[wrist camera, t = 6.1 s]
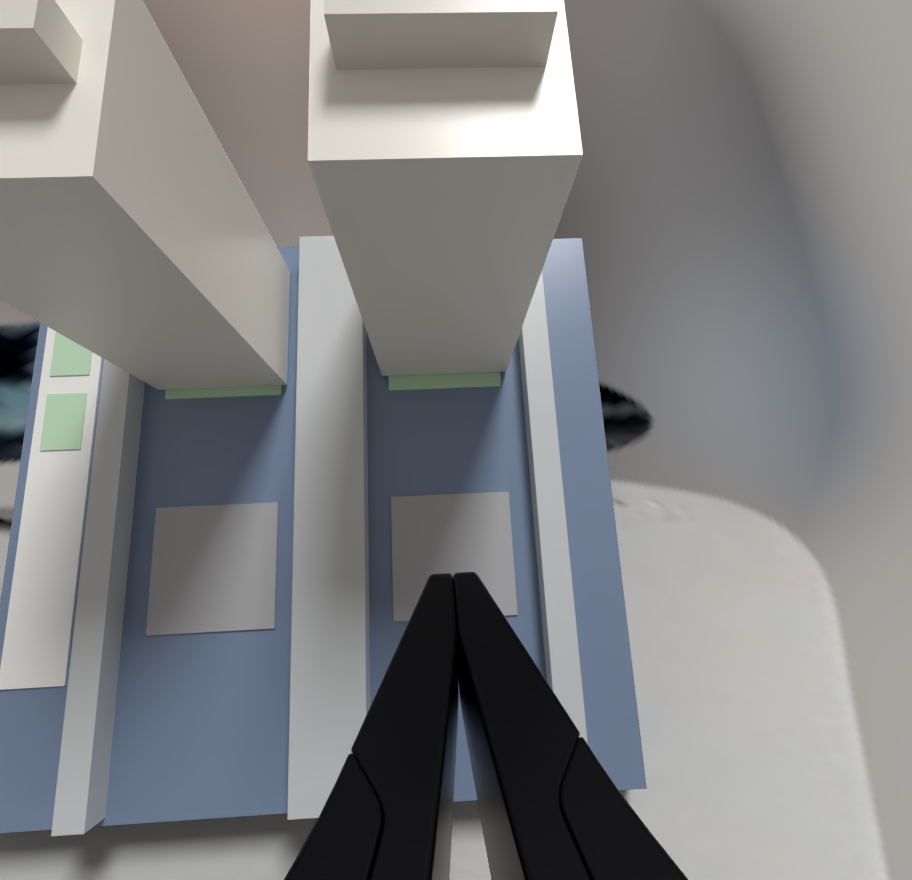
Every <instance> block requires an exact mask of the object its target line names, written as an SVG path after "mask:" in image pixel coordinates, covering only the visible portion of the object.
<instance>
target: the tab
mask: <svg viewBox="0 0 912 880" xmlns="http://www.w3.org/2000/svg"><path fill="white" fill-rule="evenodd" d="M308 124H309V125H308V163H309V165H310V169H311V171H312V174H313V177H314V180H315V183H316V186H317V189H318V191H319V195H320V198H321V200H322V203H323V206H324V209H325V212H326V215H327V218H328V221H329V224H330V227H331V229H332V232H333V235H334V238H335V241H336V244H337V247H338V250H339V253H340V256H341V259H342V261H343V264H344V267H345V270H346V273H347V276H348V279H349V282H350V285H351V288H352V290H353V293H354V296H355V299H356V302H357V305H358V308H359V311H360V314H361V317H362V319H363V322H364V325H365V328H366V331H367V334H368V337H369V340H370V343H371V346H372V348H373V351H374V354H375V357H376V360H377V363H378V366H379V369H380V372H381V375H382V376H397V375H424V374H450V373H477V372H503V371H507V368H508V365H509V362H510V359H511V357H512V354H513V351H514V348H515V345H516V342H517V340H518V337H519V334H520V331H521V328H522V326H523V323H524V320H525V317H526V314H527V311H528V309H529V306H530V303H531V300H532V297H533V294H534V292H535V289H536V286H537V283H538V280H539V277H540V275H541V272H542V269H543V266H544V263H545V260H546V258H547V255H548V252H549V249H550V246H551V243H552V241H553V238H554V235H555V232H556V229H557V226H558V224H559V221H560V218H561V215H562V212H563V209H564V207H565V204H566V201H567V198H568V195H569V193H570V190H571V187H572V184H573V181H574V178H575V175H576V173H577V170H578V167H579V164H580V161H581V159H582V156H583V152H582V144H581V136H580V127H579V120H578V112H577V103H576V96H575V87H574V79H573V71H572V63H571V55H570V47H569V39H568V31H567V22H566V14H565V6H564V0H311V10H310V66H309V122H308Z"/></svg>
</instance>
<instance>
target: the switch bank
mask: <svg viewBox="0 0 912 880" xmlns="http://www.w3.org/2000/svg"><path fill="white" fill-rule="evenodd" d="M277 248H278V250H279V252H280V254H281V256H282V257H283V259H284V261H285V263H286V265H287V267H288V268H289V270H290V292H289V331H288V371H287V385H273V386H247V387H220V388H194V389H168V390H158V389H156V388H154V387H153V386H151V385H149V384H147V383H146V382H144V381H142V380H140V379H139V378H137V377H135V376H133V375H132V374H130V373H128V372H126V371H124V370H123V369H121V368H119V367H117V366H116V365H114V364H112V363H110V362H109V361H107V360H105V359H103V358H102V357H100V356H98V355H96V354H95V353H93V352H91V351H89V350H88V349H86V348H84V347H82V346H81V345H79V344H77V343H75V342H74V341H72V340H70V339H68V338H67V337H65V336H63V335H61V334H60V333H58V332H56V331H54V330H53V329H51V328H49V327H47V326H46V325H44V324H42V323H40V329H39V336H38V343H37V350H36V357H35V364H34V371H33V378H32V385H31V392H30V399H29V406H28V413H27V420H26V427H25V434H24V441H23V448H22V455H21V462H20V469H19V476H18V483H17V490H16V497H15V504H14V511H13V518H12V525H11V532H10V539H9V546H8V553H7V560H6V567H5V574H4V581H3V588H2V595H1V602H0V833H10V832H25V831H39V830H52V832H51V836H63V835H77V834H85V833H86V832H87V831H89V830H90V829H91V828H92V827H97V826H111V825H126V824H140V823H154V822H169V821H183V820H198V819H212V818H227V817H241V816H255V815H270V814H284V813H288V817H287V820H292V819H307V818H319V816H320V814H321V812H322V809H323V807H324V805H325V803H326V801H327V799H328V797H329V795H330V793H331V791H332V789H333V787H334V785H335V783H336V781H337V778H338V776H339V774H340V772H341V770H342V767H343V765H344V763H345V761H346V759H347V756H348V755H349V754H352V752H351V748H352V746H353V744H354V741H355V739H356V737H357V735H358V733H359V730H360V728H361V726H362V724H363V721H364V719H365V717H366V715H367V713H368V710H369V708H370V706H371V704H372V702H373V699H374V697H375V695H376V693H377V690H378V688H379V686H380V684H381V682H382V679H383V677H384V675H385V673H386V670H387V668H388V666H389V664H390V662H391V659H392V657H393V655H394V653H395V650H396V648H397V646H398V644H399V642H400V639H401V637H402V635H403V633H404V631H405V628H406V626H407V624H408V622H409V619H410V617H411V615H412V613H413V611H414V608H415V606H416V604H417V602H418V599H419V597H420V595H421V593H422V591H423V588H424V586H425V584H426V582H427V580H428V578H429V576H430V575H432V574H442V573H450V574H452V576H454V574H455V573H459V572H475V573H476V574H477V575H478V576H479V577H480V579H481V581H482V582H483V584H484V585H485V587H486V588H487V590H488V591H489V593H490V594H491V596H492V598H493V599H494V601H495V602H496V604H497V605H498V607H499V608H500V610H501V611H502V613H503V615H504V616H505V618H506V619H507V621H508V622H509V624H510V625H511V627H512V628H513V630H514V632H515V633H516V635H517V636H518V638H519V639H520V641H521V642H522V644H523V645H524V647H525V649H526V650H527V652H528V653H529V655H530V656H531V658H532V659H533V661H534V662H535V664H536V666H537V667H538V669H539V670H540V672H541V673H542V675H543V676H544V678H545V679H546V681H547V683H548V684H549V686H550V687H551V689H552V690H553V692H554V693H555V695H556V696H557V698H558V700H559V701H560V703H561V704H562V706H563V707H564V709H565V710H566V712H567V713H568V715H569V717H570V718H571V720H572V721H573V723H574V724H575V726H576V727H577V729H578V730H579V732H580V736H579V737H583V738H584V739H585V741H586V742H587V744H588V745H589V747H590V749H591V750H592V752H593V753H594V755H595V756H596V758H597V759H598V761H599V762H600V764H601V765H602V767H603V768H604V770H605V771H606V773H607V774H608V775H609V777H610V778H611V780H612V781H613V783H614V784H615V786H616V787H617V789H618V790H631V789H645V788H646V780H645V771H644V763H643V754H642V746H641V737H640V729H639V720H638V712H637V703H636V695H635V686H634V678H633V669H632V661H631V652H630V644H629V635H628V627H627V618H626V610H625V601H624V593H623V584H622V576H621V567H620V559H619V550H618V542H617V534H616V525H615V517H614V508H613V500H612V491H611V483H610V474H609V466H608V458H607V449H606V440H605V432H604V423H603V415H602V406H601V398H600V389H599V381H598V372H597V364H596V355H595V347H594V338H593V330H592V321H591V313H590V305H589V297H588V288H587V279H586V271H585V262H584V254H583V245H582V238H580V239H579V238H575V239H553V241H552V243H551V246H550V249H549V252H548V255H547V258H546V260H545V263H544V266H543V269H542V272H541V275H540V277H539V280H538V283H537V286H536V289H535V292H534V294H533V297H532V300H531V303H530V306H529V309H528V311H527V314H526V317H525V320H524V323H523V326H522V328H521V331H520V334H519V337H518V340H517V342H516V345H515V348H514V351H513V354H512V357H511V359H510V362H509V365H508V368H507V371H503V372H477V373H450V374H424V375H397V376H382V375H381V372H380V369H379V366H378V363H377V360H376V357H375V354H374V351H373V348H372V346H371V343H370V340H369V337H368V334H367V331H366V328H365V325H364V322H363V319H362V317H361V314H360V311H359V308H358V305H357V302H356V299H355V296H354V293H353V290H352V288H351V285H350V282H349V279H348V276H347V273H346V270H345V267H344V264H343V261H342V259H341V256H340V253H339V250H338V247H337V244H336V241H335V238H334V236H311V237H300V246H292V247H277ZM458 691H459V684H458ZM472 800H477V795H476V789H475V784H474V778H473V772H472V767H471V761H470V755H469V750H468V744H467V739H466V733H465V727H464V722H463V716H462V710H461V703H460V695H459V707H458V728H457V746H456V764H455V782H454V800H453V802H457V801H472Z"/></svg>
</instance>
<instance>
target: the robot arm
mask: <svg viewBox="0 0 912 880" xmlns="http://www.w3.org/2000/svg"><path fill="white" fill-rule="evenodd" d="M458 684H459V691H458ZM459 695H460V703H461V710H462V716H463V722H464V727H465V733H466V739H467V744H468V750H469V755H470V761H471V767H472V772H473V778H474V784H475V789H476V795H477V800H478V806H479V812H480V817H481V823H482V828H483V834H484V840H485V845H486V851H487V857H488V862H489V868H490V873H491V879H492V880H688V879H687V877H686V876H685V875H684V874H683V872H682V871H681V870H680V869H679V867H678V866H677V865H676V864H675V862H674V861H673V860H672V859H671V857H670V856H669V855H668V854H667V852H666V851H665V850H664V849H663V847H662V846H661V845H660V844H659V842H658V841H657V840H656V839H655V837H654V836H653V835H652V834H651V832H650V831H649V830H648V828H647V827H646V826H645V825H644V823H643V822H642V821H641V819H640V818H639V817H638V815H637V814H636V813H635V811H634V810H633V809H632V807H631V806H630V805H629V804H628V802H627V801H626V800H625V798H624V797H623V796H622V794H621V793H620V791H619V790H618V789H617V787H616V786H615V784H614V783H613V781H612V780H611V778H610V777H609V775H608V774H607V773H606V771H605V770H604V768H603V767H602V765H601V764H600V762H599V761H598V759H597V758H596V756H595V755H594V753H593V752H592V750H591V749H590V747H589V745H588V744H587V742H586V741H585V739H584V738H583V737H579V736H580V732H579V730H578V729H577V727H576V726H575V724H574V723H573V721H572V720H571V718H570V717H569V715H568V713H567V712H566V710H565V709H564V707H563V706H562V704H561V703H560V701H559V700H558V698H557V696H556V695H555V693H554V692H553V690H552V689H551V687H550V686H549V684H548V683H547V681H546V679H545V678H544V676H543V675H542V673H541V672H540V670H539V669H538V667H537V666H536V664H535V662H534V661H533V659H532V658H531V656H530V655H529V653H528V652H527V650H526V649H525V647H524V645H523V644H522V642H521V641H520V639H519V638H518V636H517V635H516V633H515V632H514V630H513V628H512V627H511V625H510V624H509V622H508V621H507V619H506V618H505V616H504V615H503V613H502V611H501V610H500V608H499V607H498V605H497V604H496V602H495V601H494V599H493V598H492V596H491V594H490V593H489V591H488V590H487V588H486V587H485V585H484V584H483V582H482V581H481V579H480V577H479V576H478V575H477V574H476V573H475V572H459V573H455V574H454V576H452V574H450V573H442V574H432V575H430V576H429V578H428V580H427V582H426V584H425V586H424V588H423V591H422V593H421V595H420V597H419V599H418V602H417V604H416V606H415V608H414V611H413V613H412V615H411V617H410V619H409V622H408V624H407V626H406V628H405V631H404V633H403V635H402V637H401V639H400V642H399V644H398V646H397V648H396V650H395V653H394V655H393V657H392V659H391V662H390V664H389V666H388V668H387V670H386V673H385V675H384V677H383V679H382V682H381V684H380V686H379V688H378V690H377V693H376V695H375V697H374V699H373V702H372V704H371V706H370V708H369V710H368V713H367V715H366V717H365V719H364V721H363V724H362V726H361V728H360V730H359V733H358V735H357V737H356V739H355V741H354V744H353V746H352V748H351V752H352V754H349V755H348V756H347V759H346V761H345V763H344V765H343V767H342V770H341V772H340V774H339V776H338V778H337V781H336V783H335V785H334V787H333V789H332V791H331V793H330V795H329V797H328V799H327V801H326V803H325V805H324V807H323V809H322V812H321V814H320V816H319V818H318V820H317V821H316V823H315V825H314V827H313V829H312V831H311V832H310V834H309V836H308V838H307V840H306V841H305V843H304V845H303V847H302V849H301V851H300V852H299V854H298V856H297V858H296V860H295V862H294V863H293V865H292V867H291V868H290V870H289V872H288V874H287V875H286V877H285V879H284V880H449V872H450V854H451V836H452V818H453V800H454V782H455V764H456V746H457V728H458V707H459Z"/></svg>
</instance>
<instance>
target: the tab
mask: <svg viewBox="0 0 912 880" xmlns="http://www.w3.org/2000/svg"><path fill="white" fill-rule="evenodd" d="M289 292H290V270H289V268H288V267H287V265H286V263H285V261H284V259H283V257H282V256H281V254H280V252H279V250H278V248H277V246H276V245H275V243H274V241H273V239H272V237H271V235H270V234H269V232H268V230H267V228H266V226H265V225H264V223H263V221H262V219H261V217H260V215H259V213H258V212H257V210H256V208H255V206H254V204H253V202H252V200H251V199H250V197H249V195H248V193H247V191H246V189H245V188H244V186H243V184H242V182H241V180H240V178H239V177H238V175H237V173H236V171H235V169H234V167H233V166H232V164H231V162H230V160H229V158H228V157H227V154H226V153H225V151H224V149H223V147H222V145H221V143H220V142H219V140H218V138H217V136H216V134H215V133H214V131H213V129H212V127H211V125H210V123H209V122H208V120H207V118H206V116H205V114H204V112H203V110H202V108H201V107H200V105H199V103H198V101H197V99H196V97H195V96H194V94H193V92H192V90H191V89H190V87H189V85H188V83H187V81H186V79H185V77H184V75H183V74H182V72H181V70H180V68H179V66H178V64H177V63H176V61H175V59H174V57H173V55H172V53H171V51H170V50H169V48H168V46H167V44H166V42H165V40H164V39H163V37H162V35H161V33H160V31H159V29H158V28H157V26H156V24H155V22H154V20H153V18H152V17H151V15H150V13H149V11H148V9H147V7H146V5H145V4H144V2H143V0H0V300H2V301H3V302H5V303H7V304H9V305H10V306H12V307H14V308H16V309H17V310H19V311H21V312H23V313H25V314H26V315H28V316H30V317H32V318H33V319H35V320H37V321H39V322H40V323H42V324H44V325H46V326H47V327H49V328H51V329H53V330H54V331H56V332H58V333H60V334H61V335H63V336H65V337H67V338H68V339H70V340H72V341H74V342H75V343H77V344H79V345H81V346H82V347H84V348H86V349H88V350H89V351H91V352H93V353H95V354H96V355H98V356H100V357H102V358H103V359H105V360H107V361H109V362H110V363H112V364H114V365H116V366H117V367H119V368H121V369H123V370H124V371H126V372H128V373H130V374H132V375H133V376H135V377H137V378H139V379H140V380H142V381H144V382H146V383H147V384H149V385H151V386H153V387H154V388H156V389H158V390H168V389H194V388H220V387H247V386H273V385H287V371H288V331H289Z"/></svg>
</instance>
